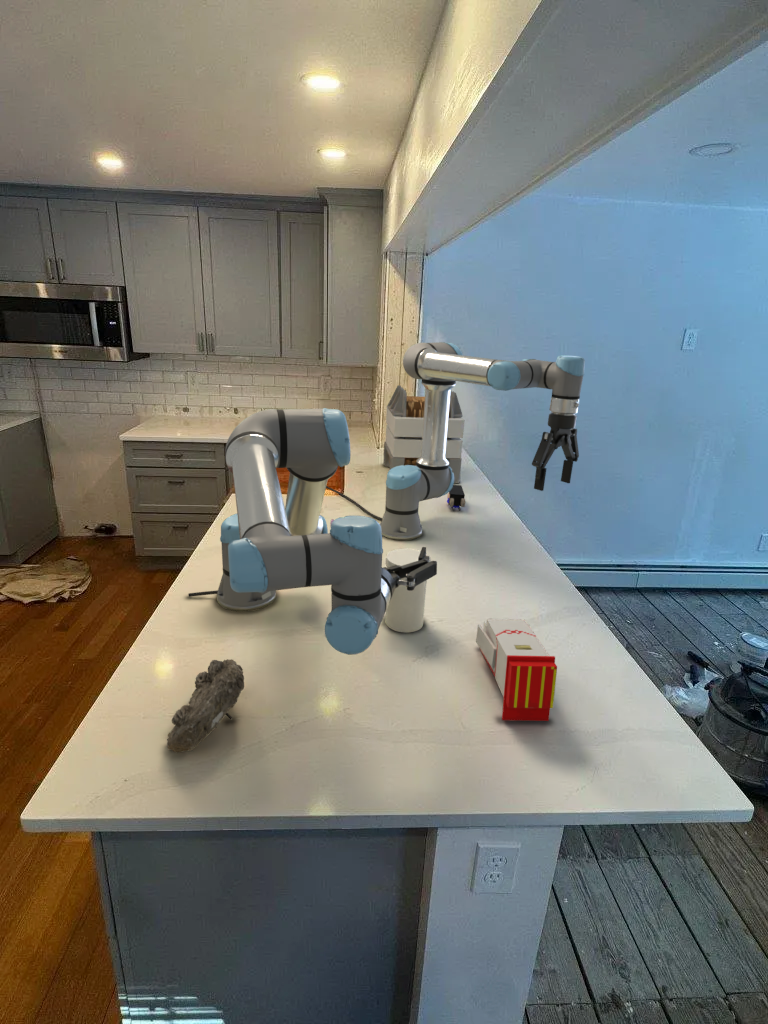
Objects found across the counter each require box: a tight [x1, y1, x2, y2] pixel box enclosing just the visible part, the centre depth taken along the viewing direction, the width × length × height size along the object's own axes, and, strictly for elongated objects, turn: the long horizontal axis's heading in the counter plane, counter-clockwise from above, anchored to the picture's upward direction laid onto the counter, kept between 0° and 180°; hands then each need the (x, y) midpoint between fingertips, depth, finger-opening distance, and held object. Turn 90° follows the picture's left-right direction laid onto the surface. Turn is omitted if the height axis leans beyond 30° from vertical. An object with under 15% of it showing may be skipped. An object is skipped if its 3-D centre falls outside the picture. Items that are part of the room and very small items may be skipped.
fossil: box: [166, 658, 245, 754], centre depth 106 cm, size 22×10×15 cm
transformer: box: [383, 384, 465, 484], centre depth 268 cm, size 34×33×41 cm
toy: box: [475, 618, 558, 722], centre depth 122 cm, size 12×13×30 cm
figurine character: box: [446, 484, 466, 511], centre depth 229 cm, size 7×8×15 cm
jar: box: [384, 580, 428, 633], centre depth 141 cm, size 10×10×18 cm
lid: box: [385, 547, 432, 572], centre depth 138 cm, size 11×11×2 cm
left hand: (391, 551), depth 116 cm, fingers open, 13 cm apart
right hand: (552, 485), depth 166 cm, fingers open, 13 cm apart
